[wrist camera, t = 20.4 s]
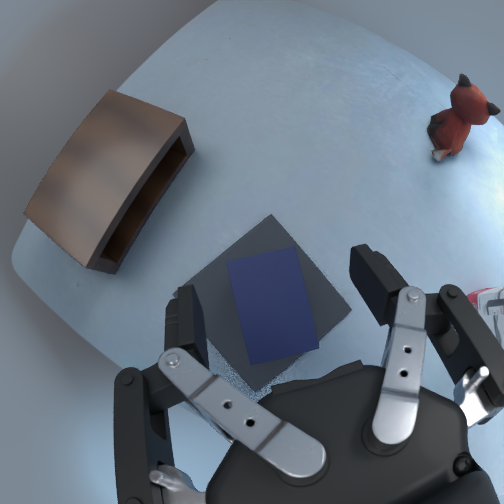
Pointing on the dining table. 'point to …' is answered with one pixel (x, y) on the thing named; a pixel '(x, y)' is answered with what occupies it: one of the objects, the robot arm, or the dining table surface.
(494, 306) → the ink box
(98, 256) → the shelf
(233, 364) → the mat
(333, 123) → the dining table surface
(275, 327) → the tea box
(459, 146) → the stuffed fox
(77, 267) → the dining table surface
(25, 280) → the dining table surface
